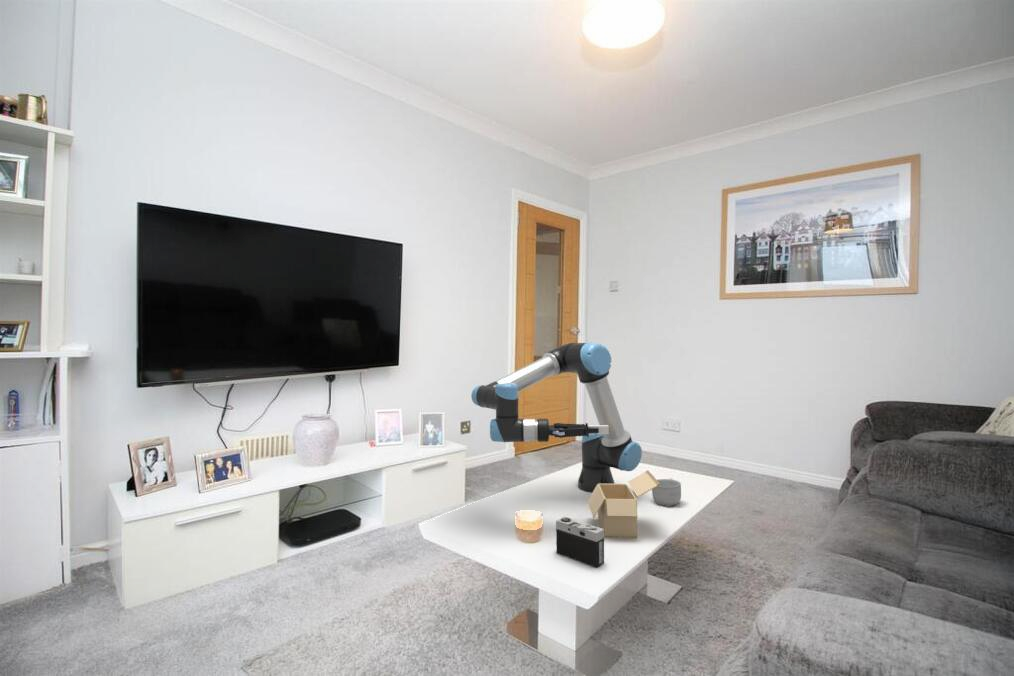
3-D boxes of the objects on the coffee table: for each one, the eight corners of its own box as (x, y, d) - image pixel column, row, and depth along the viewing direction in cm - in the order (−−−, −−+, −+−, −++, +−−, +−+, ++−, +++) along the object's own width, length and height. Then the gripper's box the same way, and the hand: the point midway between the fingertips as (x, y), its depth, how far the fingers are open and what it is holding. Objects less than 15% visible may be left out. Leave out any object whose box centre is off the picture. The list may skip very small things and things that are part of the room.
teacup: (673, 510, 176) (673, 488, 176) (646, 503, 184) (646, 482, 184) (689, 500, 187) (689, 479, 187) (662, 494, 194) (662, 474, 194)
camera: (612, 558, 138) (612, 523, 138) (596, 568, 132) (596, 532, 132) (571, 544, 147) (571, 511, 147) (555, 553, 141) (555, 519, 141)
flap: (637, 496, 152) (659, 483, 152) (627, 481, 168) (647, 470, 167) (638, 497, 152) (660, 484, 152) (628, 482, 168) (648, 471, 167)
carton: (594, 540, 150) (594, 501, 150) (586, 515, 171) (586, 481, 171) (639, 541, 149) (638, 502, 149) (625, 516, 170) (625, 481, 171)
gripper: (536, 437, 168) (605, 436, 167) (537, 446, 155) (611, 445, 154) (536, 415, 168) (605, 415, 167) (536, 422, 155) (611, 422, 154)
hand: (608, 429), depth 160 cm, fingers closed
